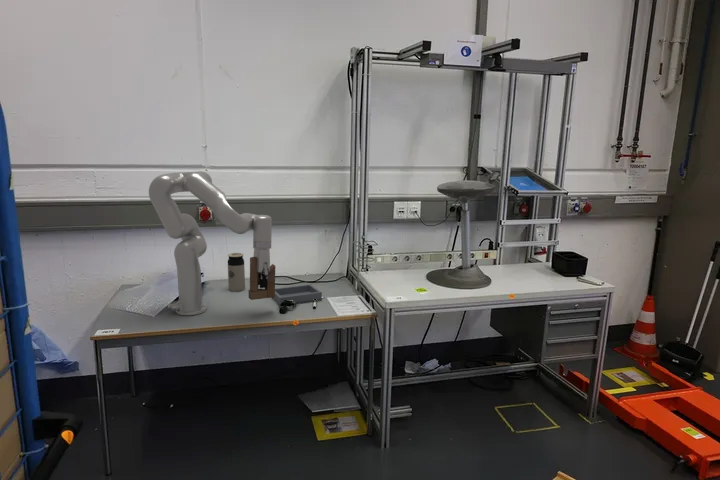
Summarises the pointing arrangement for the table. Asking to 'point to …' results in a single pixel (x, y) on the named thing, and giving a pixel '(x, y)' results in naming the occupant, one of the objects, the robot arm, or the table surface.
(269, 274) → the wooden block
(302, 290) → the tray
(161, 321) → the table surface
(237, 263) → the travel mug
